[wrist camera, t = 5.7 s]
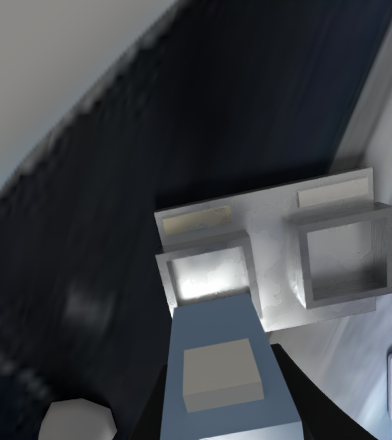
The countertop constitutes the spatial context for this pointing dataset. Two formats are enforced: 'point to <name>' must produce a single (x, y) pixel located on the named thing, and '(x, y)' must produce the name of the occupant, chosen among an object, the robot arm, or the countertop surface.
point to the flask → (77, 421)
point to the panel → (282, 249)
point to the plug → (225, 377)
